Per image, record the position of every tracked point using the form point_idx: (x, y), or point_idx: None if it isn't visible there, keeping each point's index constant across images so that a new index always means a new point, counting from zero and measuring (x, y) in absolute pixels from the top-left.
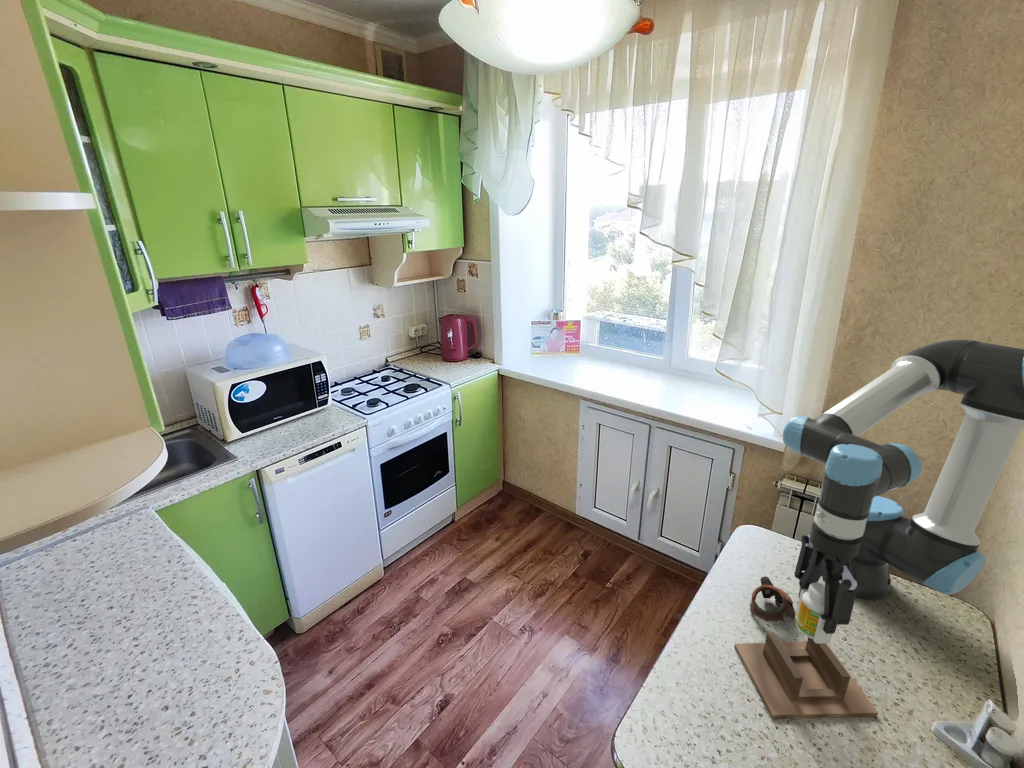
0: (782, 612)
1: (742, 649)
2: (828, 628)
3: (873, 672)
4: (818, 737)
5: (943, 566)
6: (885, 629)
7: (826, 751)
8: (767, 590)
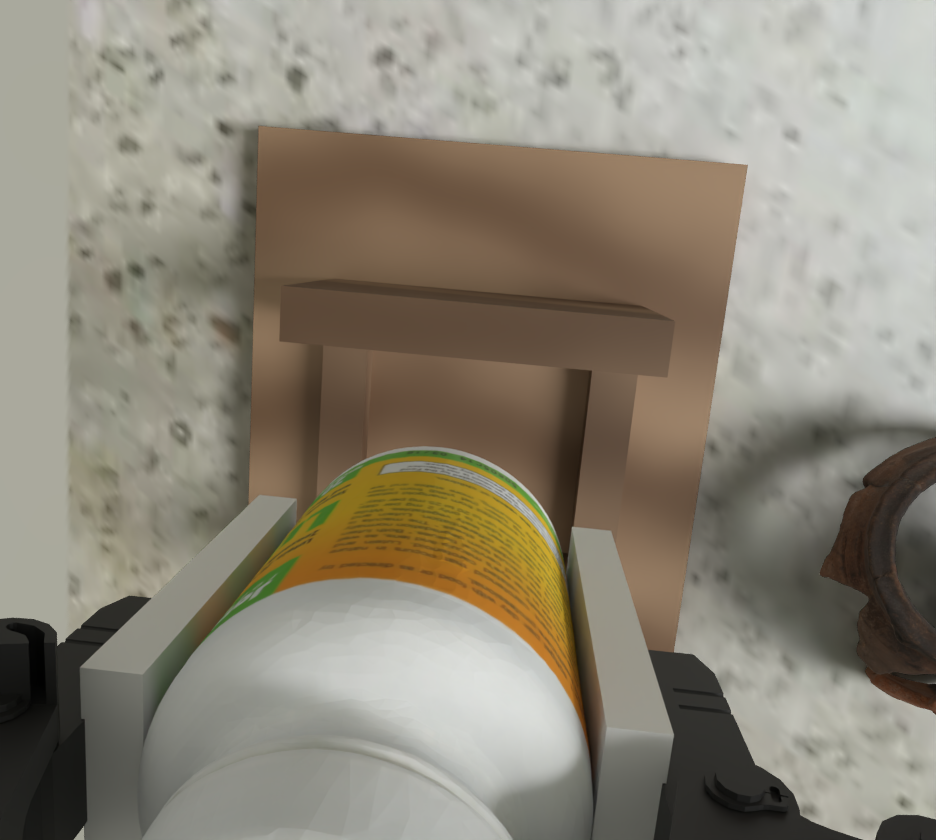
0: (872, 589)
1: (695, 193)
2: (68, 640)
3: None
4: (167, 315)
5: None
6: None
7: (103, 307)
8: None
